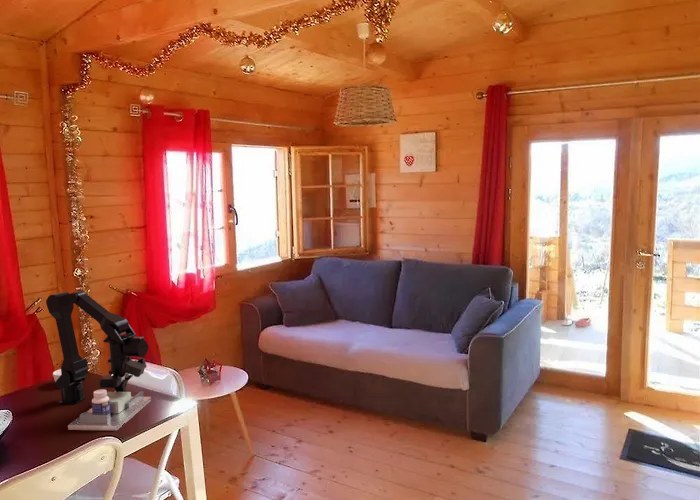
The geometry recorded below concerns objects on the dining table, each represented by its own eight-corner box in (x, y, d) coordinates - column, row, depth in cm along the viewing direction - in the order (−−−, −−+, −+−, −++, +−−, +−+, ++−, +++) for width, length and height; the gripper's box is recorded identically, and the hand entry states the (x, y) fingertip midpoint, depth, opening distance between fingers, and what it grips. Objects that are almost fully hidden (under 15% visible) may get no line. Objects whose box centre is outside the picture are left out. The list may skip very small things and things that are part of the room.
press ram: (94, 413, 187) (93, 402, 186) (109, 402, 196) (108, 391, 196) (117, 414, 186) (116, 402, 186) (131, 403, 196) (130, 391, 195)
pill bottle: (105, 421, 181) (103, 394, 180) (89, 420, 181) (87, 394, 180) (113, 414, 186) (111, 388, 185) (98, 414, 187) (96, 388, 186)
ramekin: (51, 383, 223) (50, 370, 223) (81, 376, 230) (80, 364, 230) (56, 390, 215) (55, 377, 214) (88, 384, 221) (87, 371, 221)
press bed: (68, 429, 179) (67, 416, 178) (108, 400, 203) (107, 388, 203) (116, 430, 177) (115, 416, 177) (151, 400, 202) (150, 388, 202)
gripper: (128, 363, 185) (132, 408, 188) (152, 346, 204) (155, 387, 206) (96, 363, 186) (100, 408, 188) (123, 346, 205) (126, 387, 207)
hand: (122, 397), depth 197 cm, fingers closed
